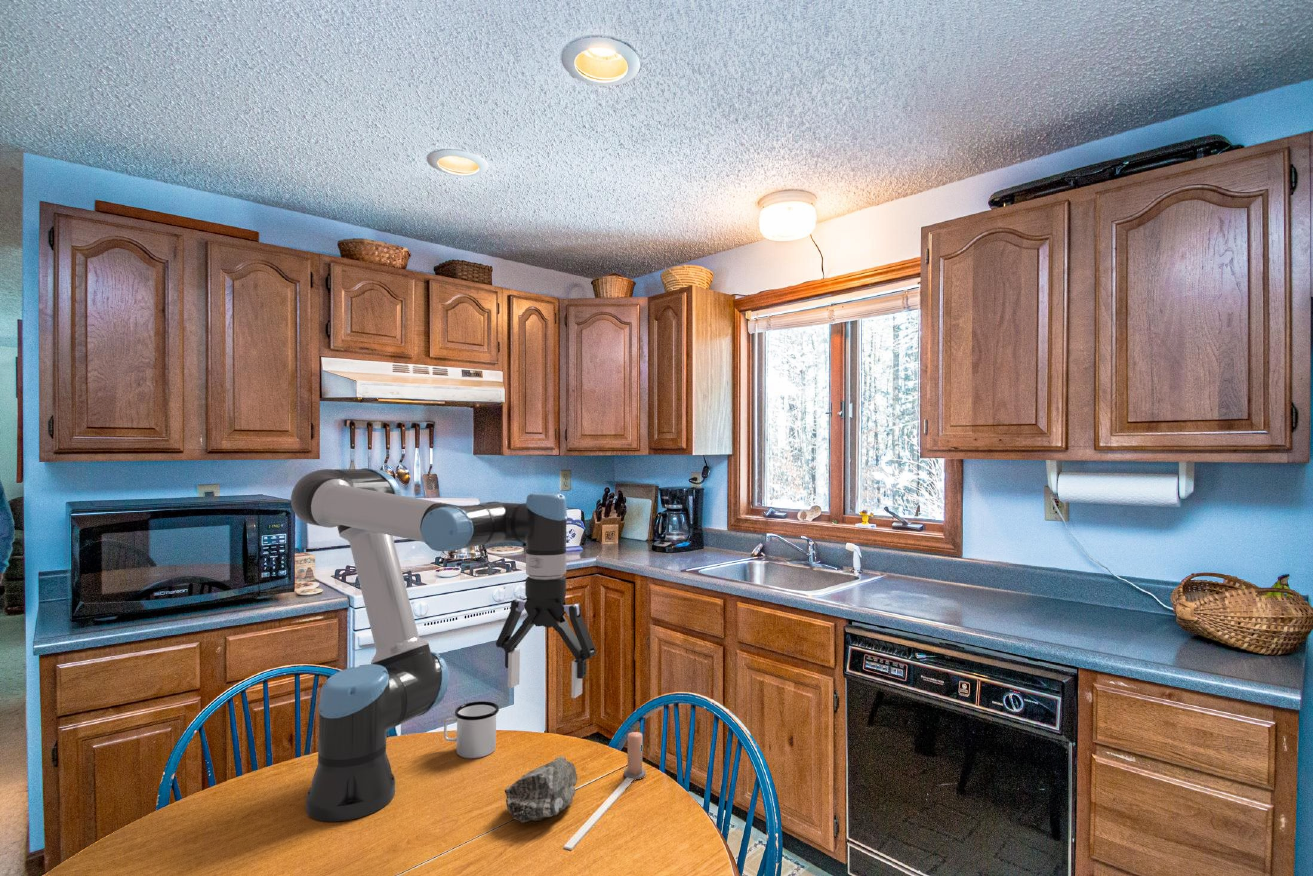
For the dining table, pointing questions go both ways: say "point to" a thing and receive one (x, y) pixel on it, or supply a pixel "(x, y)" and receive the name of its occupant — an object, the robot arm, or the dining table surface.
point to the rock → (542, 791)
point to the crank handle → (630, 773)
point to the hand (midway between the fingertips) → (544, 690)
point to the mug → (475, 729)
